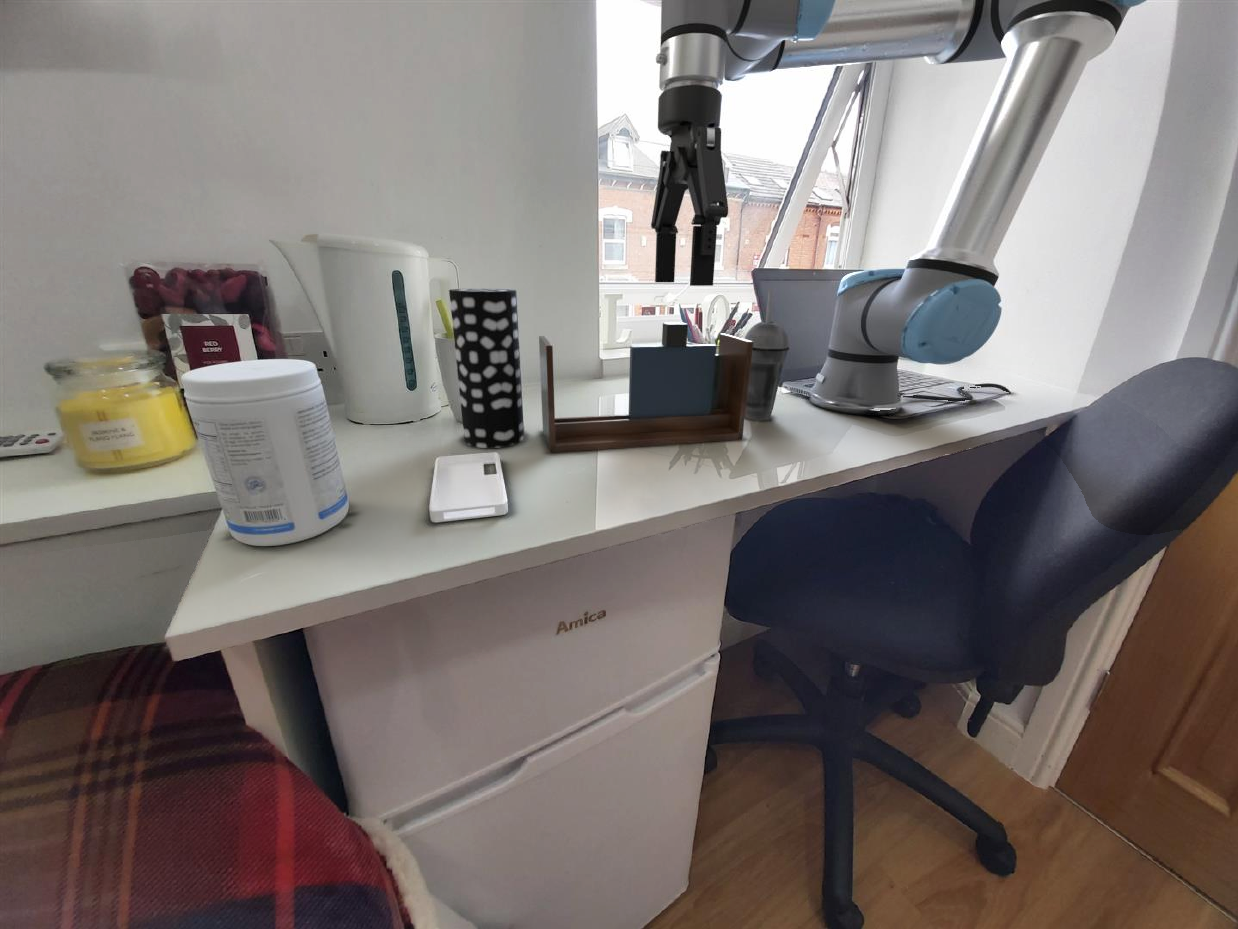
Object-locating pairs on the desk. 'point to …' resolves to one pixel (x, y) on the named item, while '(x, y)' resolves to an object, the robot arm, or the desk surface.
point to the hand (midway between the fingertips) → (681, 284)
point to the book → (671, 376)
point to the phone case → (467, 488)
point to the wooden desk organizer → (660, 430)
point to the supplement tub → (268, 448)
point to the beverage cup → (765, 366)
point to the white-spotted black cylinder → (488, 366)
